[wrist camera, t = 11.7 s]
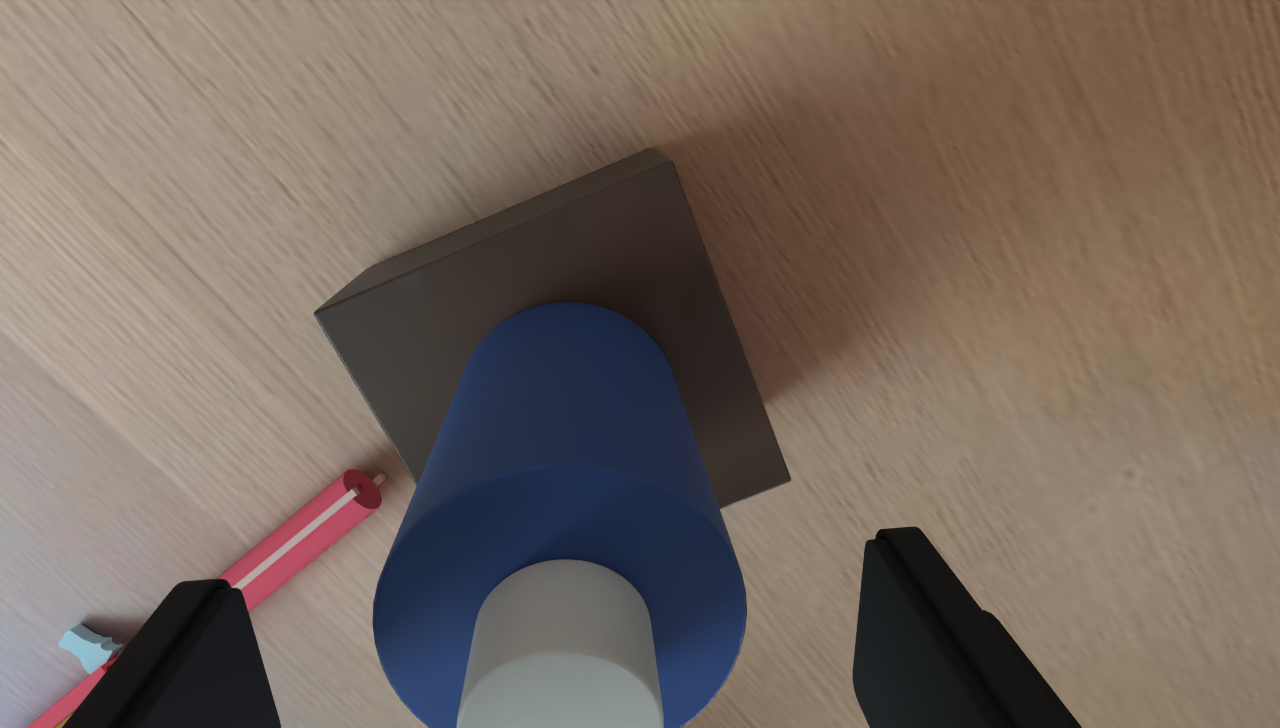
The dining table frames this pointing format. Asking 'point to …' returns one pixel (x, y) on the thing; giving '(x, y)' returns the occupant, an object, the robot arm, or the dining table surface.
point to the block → (552, 273)
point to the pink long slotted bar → (244, 573)
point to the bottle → (562, 542)
